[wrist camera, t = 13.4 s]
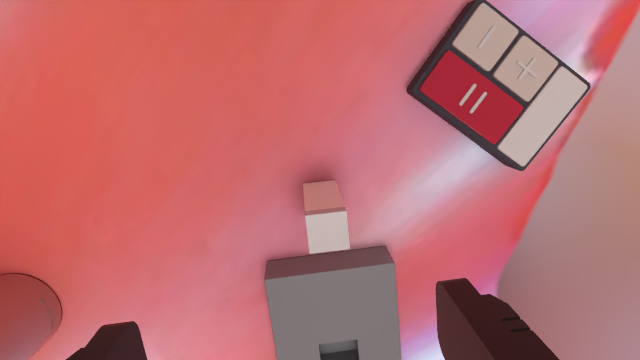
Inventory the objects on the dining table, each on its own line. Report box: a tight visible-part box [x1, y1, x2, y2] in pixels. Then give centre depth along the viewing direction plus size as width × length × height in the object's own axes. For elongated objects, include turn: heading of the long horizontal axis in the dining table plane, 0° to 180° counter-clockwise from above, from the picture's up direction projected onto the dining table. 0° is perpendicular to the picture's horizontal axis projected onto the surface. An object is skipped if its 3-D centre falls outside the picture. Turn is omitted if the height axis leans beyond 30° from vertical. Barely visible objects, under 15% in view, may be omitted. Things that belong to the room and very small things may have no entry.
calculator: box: [407, 0, 590, 171], centre depth 42 cm, size 11×4×15 cm
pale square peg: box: [303, 180, 350, 254], centre depth 40 cm, size 4×4×11 cm
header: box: [264, 246, 401, 360], centre depth 48 cm, size 14×22×4 cm, turn 7°
